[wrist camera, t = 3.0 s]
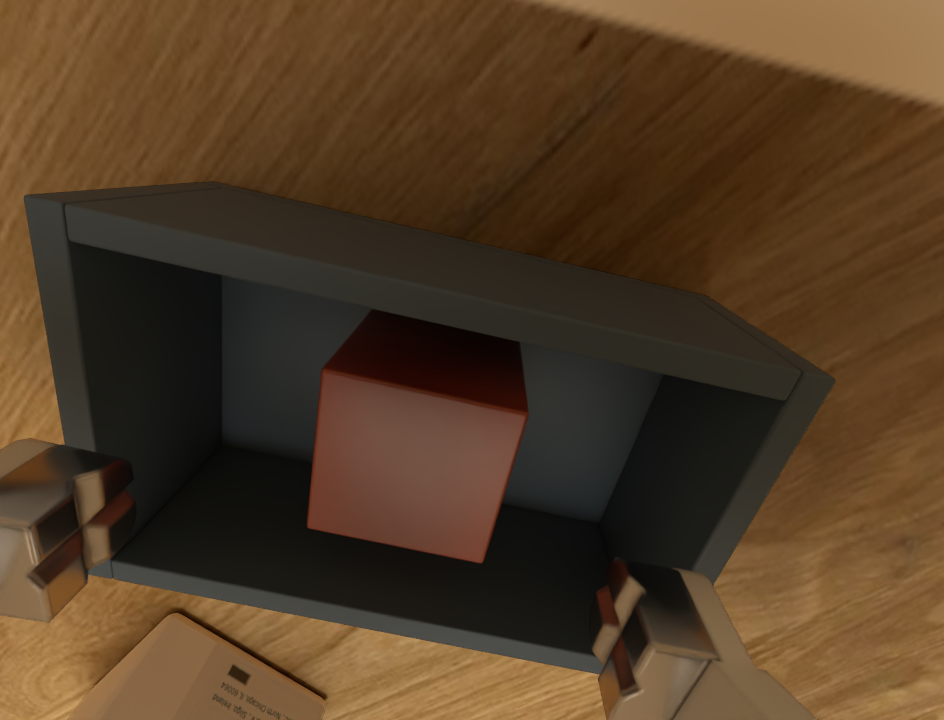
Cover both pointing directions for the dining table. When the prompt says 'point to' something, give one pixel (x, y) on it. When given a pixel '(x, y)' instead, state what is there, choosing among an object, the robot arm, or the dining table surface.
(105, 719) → the container
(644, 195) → the dining table surface
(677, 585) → the robot arm
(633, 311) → the box
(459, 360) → the block
